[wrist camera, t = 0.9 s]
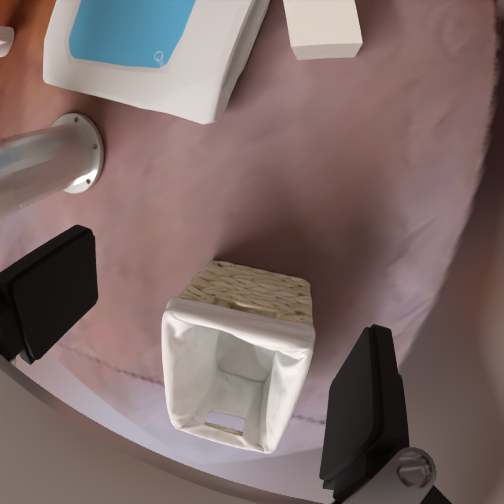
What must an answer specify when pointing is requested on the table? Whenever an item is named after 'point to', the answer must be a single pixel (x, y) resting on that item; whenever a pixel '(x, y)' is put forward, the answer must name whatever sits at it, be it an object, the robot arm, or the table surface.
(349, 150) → the table surface
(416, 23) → the table surface
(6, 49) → the mug
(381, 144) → the table surface
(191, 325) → the storage basket
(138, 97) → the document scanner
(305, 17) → the matte white cube
